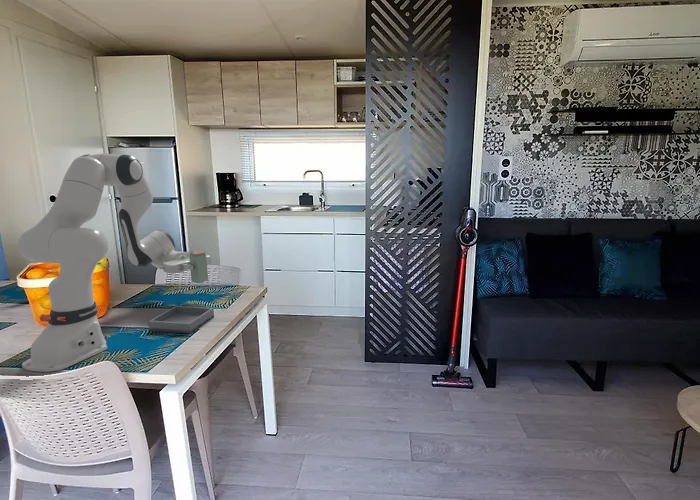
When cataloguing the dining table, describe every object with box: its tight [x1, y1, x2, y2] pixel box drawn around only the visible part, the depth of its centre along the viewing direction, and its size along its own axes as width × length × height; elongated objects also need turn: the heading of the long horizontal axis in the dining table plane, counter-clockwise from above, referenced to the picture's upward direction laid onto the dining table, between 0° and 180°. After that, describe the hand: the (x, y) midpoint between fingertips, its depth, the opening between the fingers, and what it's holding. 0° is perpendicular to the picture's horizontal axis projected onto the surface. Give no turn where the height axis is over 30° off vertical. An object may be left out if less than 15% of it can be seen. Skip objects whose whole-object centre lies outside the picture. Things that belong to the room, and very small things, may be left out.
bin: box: [147, 305, 215, 334], centre depth 147 cm, size 16×16×4 cm
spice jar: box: [189, 250, 209, 284], centre depth 164 cm, size 5×5×12 cm
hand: (200, 265), depth 164 cm, fingers closed on spice jar, 5 cm apart
